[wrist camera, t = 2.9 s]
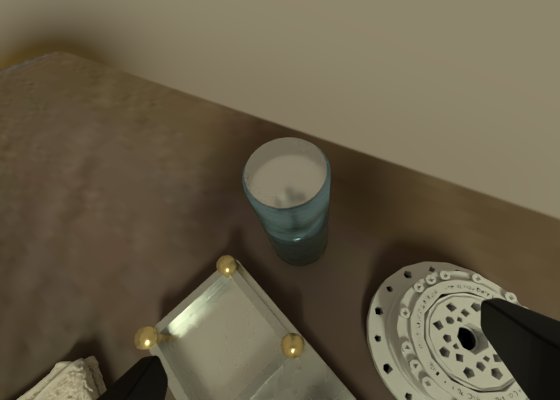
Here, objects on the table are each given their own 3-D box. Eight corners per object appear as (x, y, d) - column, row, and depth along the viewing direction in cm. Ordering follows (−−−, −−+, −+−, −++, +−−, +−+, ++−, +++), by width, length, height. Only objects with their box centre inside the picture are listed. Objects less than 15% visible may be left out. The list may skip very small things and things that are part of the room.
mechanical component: (454, 245, 21) (340, 298, 20) (484, 224, 17) (344, 288, 17) (566, 389, 16) (421, 463, 16) (642, 404, 13) (454, 503, 12)
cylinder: (299, 277, 21) (281, 230, 12) (262, 238, 23) (223, 172, 14) (338, 238, 22) (350, 167, 13) (300, 204, 24) (286, 121, 15)
